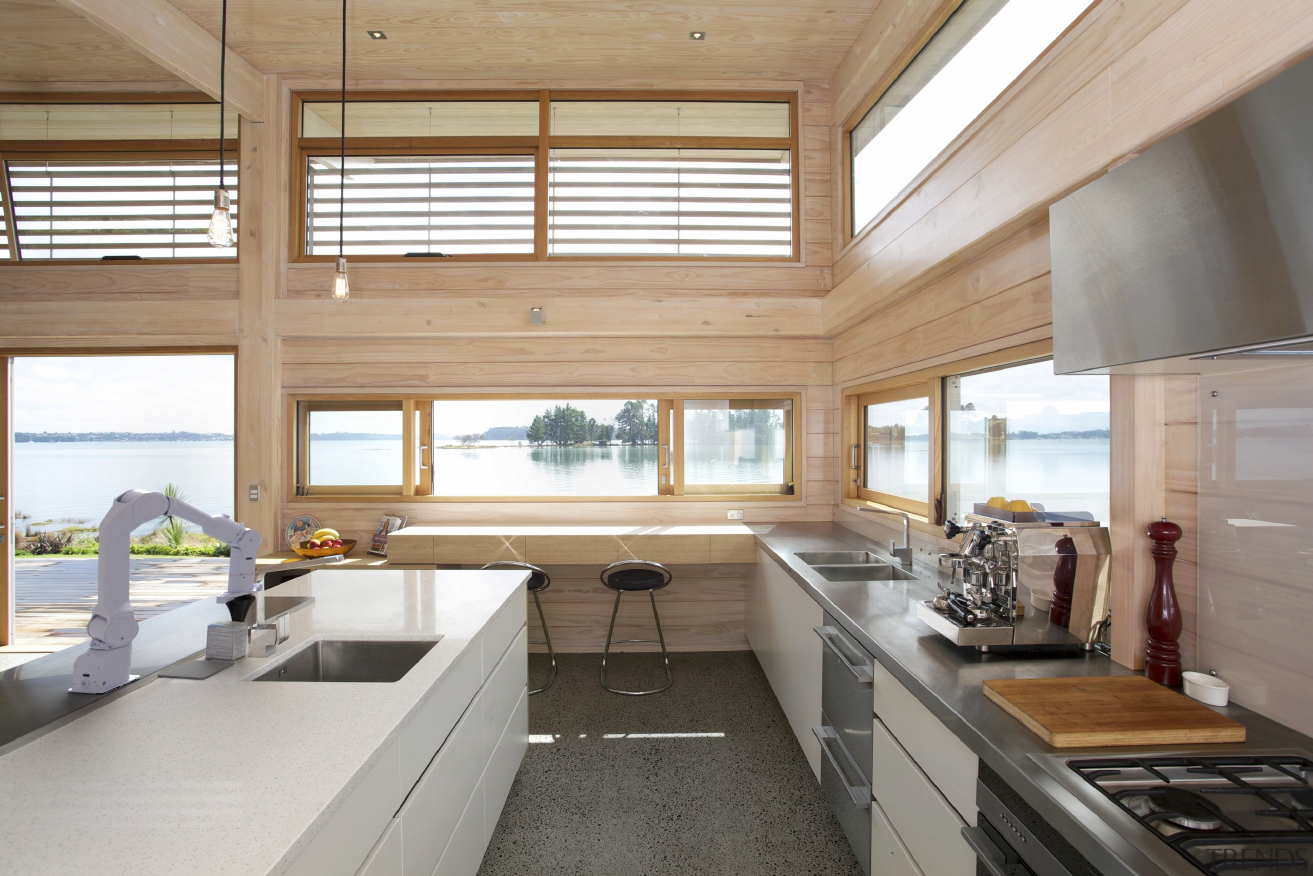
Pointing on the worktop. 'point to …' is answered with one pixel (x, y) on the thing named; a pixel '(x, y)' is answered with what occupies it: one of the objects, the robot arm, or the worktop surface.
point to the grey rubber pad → (196, 669)
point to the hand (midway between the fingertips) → (238, 624)
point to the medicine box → (226, 640)
